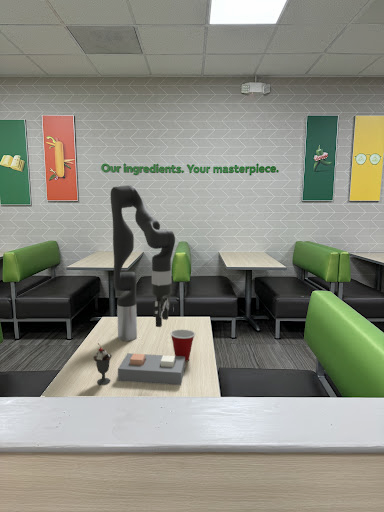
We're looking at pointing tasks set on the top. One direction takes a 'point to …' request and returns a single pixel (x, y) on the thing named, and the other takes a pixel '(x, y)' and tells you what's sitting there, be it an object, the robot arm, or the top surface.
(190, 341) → the plastic cup
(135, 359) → the terracotta key
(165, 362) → the ivory key
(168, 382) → the key panel
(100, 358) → the sundae
